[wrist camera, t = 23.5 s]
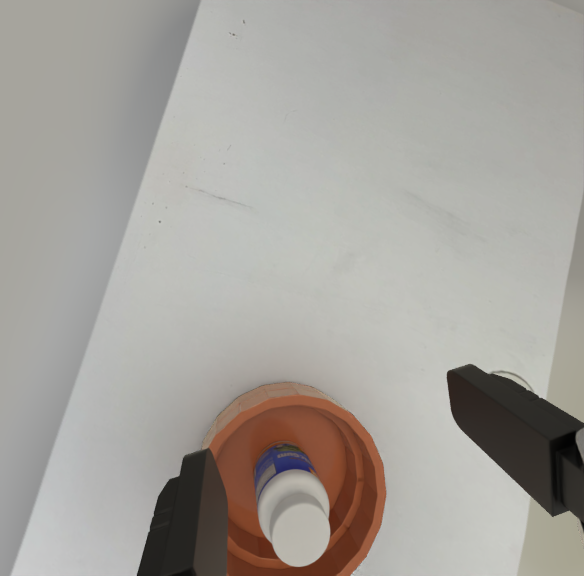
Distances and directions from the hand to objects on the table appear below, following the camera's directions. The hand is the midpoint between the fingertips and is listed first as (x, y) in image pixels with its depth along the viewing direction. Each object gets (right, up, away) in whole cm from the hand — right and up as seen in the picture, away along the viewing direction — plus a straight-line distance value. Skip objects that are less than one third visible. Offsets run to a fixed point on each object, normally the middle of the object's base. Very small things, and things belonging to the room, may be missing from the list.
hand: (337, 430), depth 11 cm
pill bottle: (-2, -13, +21) cm, 24 cm away
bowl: (-2, -12, +21) cm, 25 cm away
